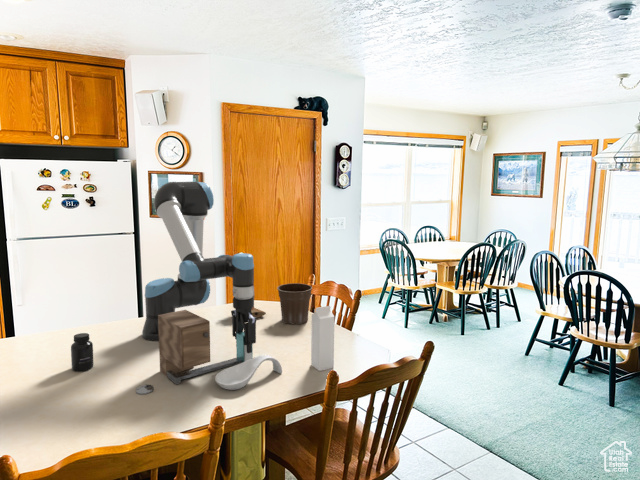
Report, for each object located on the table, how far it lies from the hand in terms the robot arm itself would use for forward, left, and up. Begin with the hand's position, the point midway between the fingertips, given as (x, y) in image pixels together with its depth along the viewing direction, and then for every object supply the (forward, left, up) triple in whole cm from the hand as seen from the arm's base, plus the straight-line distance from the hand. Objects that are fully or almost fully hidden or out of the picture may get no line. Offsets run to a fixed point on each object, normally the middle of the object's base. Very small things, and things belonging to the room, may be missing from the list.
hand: (244, 358), depth 169 cm
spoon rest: (+15, -8, -1) cm, 17 cm away
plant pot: (-24, +44, -1) cm, 50 cm away
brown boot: (-45, +32, -1) cm, 55 cm away
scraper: (0, -13, 0) cm, 13 cm away
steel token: (0, -37, -1) cm, 37 cm away
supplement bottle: (-31, -46, -1) cm, 56 cm away
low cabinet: (-3, -22, -1) cm, 22 cm away
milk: (+23, +18, -1) cm, 29 cm away
